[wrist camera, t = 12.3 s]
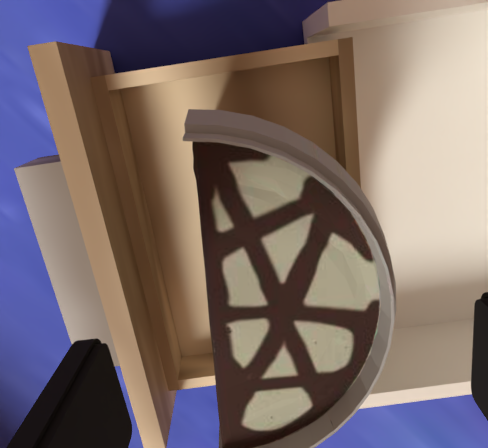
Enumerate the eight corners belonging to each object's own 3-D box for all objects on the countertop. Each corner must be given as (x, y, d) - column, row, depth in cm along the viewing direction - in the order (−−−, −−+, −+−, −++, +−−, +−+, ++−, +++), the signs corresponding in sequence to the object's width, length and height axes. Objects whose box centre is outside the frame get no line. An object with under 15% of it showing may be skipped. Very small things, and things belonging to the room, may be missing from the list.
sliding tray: (127, 369, 27) (94, 459, 21) (39, 62, 21) (-44, 57, 15) (352, 339, 27) (388, 421, 20) (329, 17, 21) (371, -8, 14)
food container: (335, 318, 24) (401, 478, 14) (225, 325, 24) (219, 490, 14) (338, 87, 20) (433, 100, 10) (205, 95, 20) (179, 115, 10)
